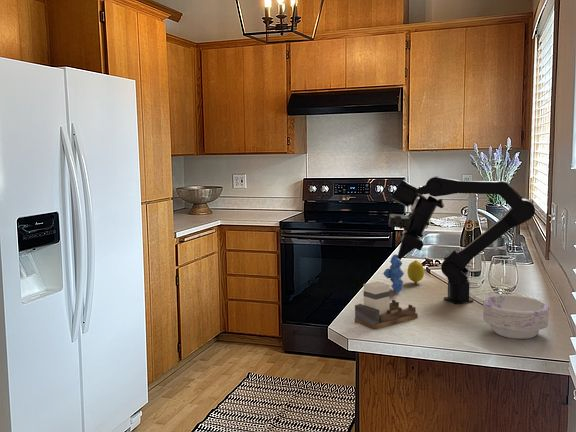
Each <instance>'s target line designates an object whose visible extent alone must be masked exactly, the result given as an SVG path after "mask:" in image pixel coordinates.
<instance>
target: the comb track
mask: <svg viewBox="0 0 576 432" xmlns="http://www.w3.org/2000/svg"><path fill="white" fill-rule="evenodd" d="M389 307H390V310H387V313H386V314H382V315H379V310H378V309H375V308H372V307H369V306H366V305H364V304H363V303H358V304H354V320H353V321H354V323H355V324H358V325H362V326H364V327H366V328H369V329H372V330H373V331H374V330H379V329H382V328H385V327H389V326H392V325H396V324H400V323H404V322H407V321H411V320H414V319H417V318H419V317H418V316H419V315H418V314H419V313H418V312H417V311H416V309H417V307H416V306H413V304H408V305H407V307H405V308H403V307H400V302H399V301H396V299H391V302H389Z"/></svg>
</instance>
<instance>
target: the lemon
mask: <svg viewBox="0 0 576 432" xmlns="http://www.w3.org/2000/svg"><path fill="white" fill-rule="evenodd" d="M424 275H425V269H424V265H423V263H421V262H420V261H418V260H416V259H415V260H413V261H411V262H410V263H409V265H408V266H407V276H408V279H409V280H411V281H412V282H413V283H414V284H417V283H418V282H420V281H422V279H423V278H424Z"/></svg>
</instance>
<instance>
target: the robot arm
mask: <svg viewBox="0 0 576 432" xmlns="http://www.w3.org/2000/svg"><path fill="white" fill-rule="evenodd" d="M455 194H470V195H471V194H473V195H475V194H476V195H477V194H478V195H499V196H500V197H501V198H502V199H503V200H504V202H505V203H507V204H508V206H509V207H510V208H509V209H508V210H507V211H506V212H505V214H504V215H503V216H502V217H501V219H498V221H496V222H495V223H494V224H493V225H491V226H490V227H489V228H487V230H485V231H484V232H482V233H481V234H480V235H479V236H478V237H477V238H475V239H474V240H473V241H471V242H470V243H469V244H468V245H467V246H465V247H463V248H461V249H458V247H457V246H455V247H454V248H453V249H452V251H450V252H449V253H447V254H445V256H444V258H443V262H442V263H441V266H440V269H441V272H442V274H443V275H444V276H445V277H446V278H447V296H444V297H443V299H444V300H445V301H449V302H450V303H453V304H456V305H458V304H465V303H473V302H475V301H474V299H472V298H470V280H468V279H469V276H470V273H471V271H470V270H469V269H468V268H467V266H468V265H469V263H470V262H471V261H472V260H473V259H474V258H475V257H476V256H477V255H479V254H480V253H481V252H482V251H484V250H485V249H487V248H488V247H489V246H490V245H491V244H493V243H494V242H496V241H497V240H498V239H499V238H500V237H502V236H503V235H504V234H506V233H507V232H508V231H510V230H512V229H513V228H515V227H516V228H517V227H518V226H520V225H522V224H524V223H526V222H527V221H529V220H531V219H533V217H534V216H535V213H536V209H535V204H534V203H533V201H531V200H530V199H528V198H524V197H522V196H521V194H519V192H517V191H516V190H515V189H514V188H513V187H512V186H511V185H510V183H509V182H508V181H506V180H499V181H498V180H495V181H494V180H463V179H462V180H459V179H455V178H450V177H446V176H440V175H436V176H433V177H431V178H429V179H428V180H427V182H426V184H425V185H420V186H419V187H417V186H415V185H413V184H411V183H409V182H408V181H406V180H404V179H403V180H401V181H400V183H399V185H398V186H397V188H396V189H395V190H394V191H393V194H392V195H391V196H392V197H391V200H393V201H395V202H397V203H399V204H401V205H402V206H405V207H406V208H409V207H411V205H412V206H413V205H414V204H415V202H416V200H417V199H419V200H418V202H417V204H416V206H415V208H414V210H413V212H411V211H410V212H409V213H408V215H406V214H405V215H404V214H399V213H397V214H396V213H389V219H388V227H389V228H399V229H400V230H402V229H403V231H400V232H399V237H400V238H399V239H400V241H401V242H400V246H399V250H398V252H397V255H398V256H397V257H398V258H399V259H401V260H402V258H405V256H407V255H408V254H409V253H411V252H412V251H413V250H415V249H416V250H418V251H422V248H423V247H424V241H423V239H422V238H423V236H424V232H425V229H427V228H426V226H428V227H429V225H430V220H431V218H432V216H433V214H434V213H435V211H436V209H437V207H438V208H440V209H443V208H445V205H444V202H443V201H444V200H443V198H439V199H438V198H437V197H442V196H449V195H455ZM425 195H429V196H428V197H427V196H425Z"/></svg>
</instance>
